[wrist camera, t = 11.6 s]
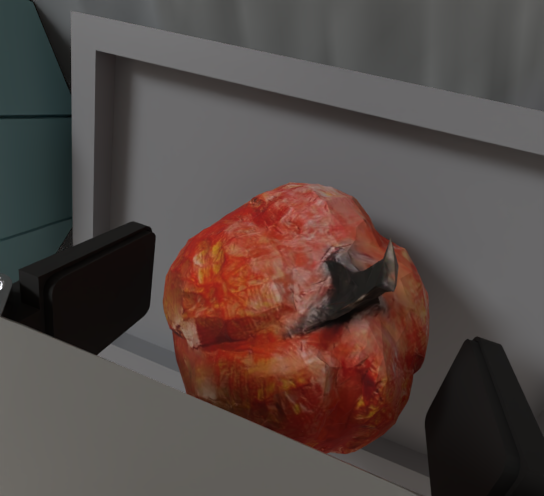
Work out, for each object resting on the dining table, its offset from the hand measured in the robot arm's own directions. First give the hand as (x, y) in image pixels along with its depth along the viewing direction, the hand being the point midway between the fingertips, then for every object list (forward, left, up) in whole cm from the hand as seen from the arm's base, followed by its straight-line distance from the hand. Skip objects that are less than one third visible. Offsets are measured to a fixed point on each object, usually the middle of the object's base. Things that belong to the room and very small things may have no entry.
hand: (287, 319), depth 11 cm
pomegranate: (0, 0, -4) cm, 4 cm away
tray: (0, 0, -5) cm, 4 cm away
